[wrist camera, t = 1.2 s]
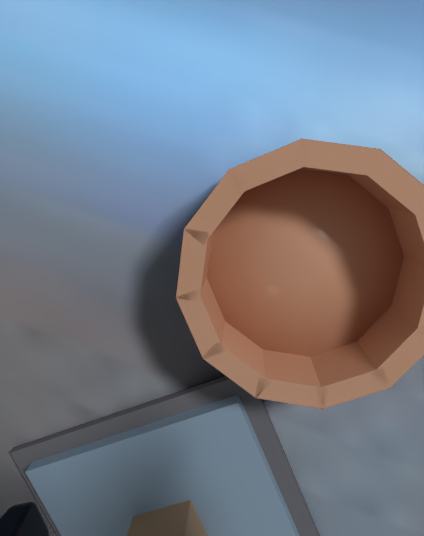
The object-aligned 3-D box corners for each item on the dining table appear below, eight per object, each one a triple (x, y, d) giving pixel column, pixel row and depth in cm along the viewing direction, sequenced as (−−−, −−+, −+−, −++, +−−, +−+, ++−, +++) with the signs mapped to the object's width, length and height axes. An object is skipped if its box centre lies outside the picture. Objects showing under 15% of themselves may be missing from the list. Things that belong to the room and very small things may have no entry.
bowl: (441, 322, 21) (487, 358, 17) (238, 389, 22) (236, 435, 18) (374, 109, 19) (408, 92, 15) (156, 201, 20) (135, 208, 16)
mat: (338, 581, 25) (340, 589, 24) (120, 633, 27) (117, 641, 27) (249, 368, 22) (249, 372, 21) (14, 447, 24) (9, 452, 24)
